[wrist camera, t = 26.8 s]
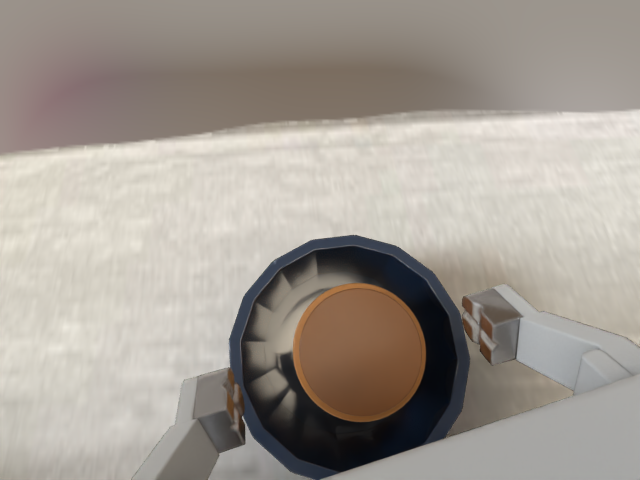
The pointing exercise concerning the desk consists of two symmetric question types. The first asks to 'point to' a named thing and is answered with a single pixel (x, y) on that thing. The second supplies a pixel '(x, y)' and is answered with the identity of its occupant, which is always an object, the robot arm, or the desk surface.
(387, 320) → the tall brown tube
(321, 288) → the pot
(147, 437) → the desk surface
